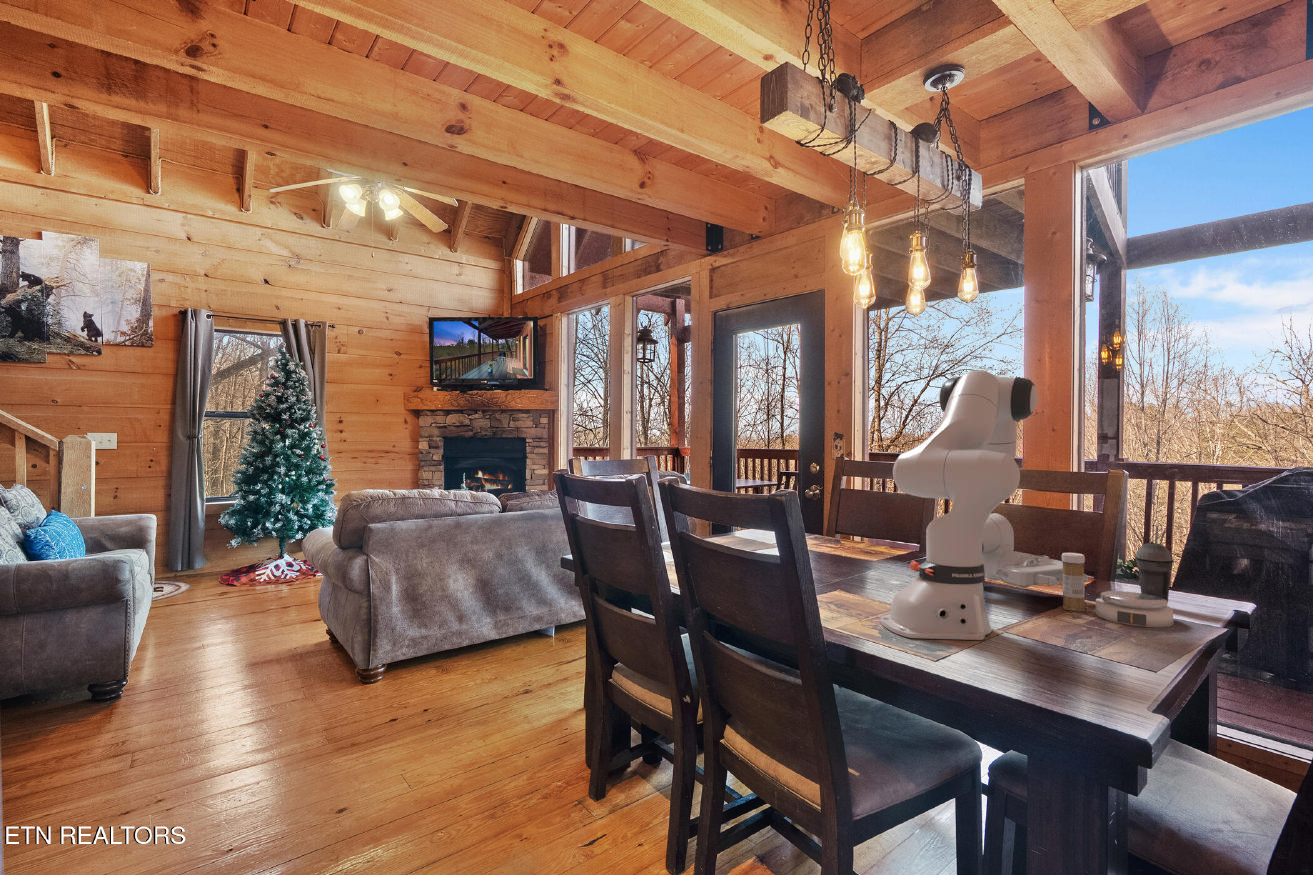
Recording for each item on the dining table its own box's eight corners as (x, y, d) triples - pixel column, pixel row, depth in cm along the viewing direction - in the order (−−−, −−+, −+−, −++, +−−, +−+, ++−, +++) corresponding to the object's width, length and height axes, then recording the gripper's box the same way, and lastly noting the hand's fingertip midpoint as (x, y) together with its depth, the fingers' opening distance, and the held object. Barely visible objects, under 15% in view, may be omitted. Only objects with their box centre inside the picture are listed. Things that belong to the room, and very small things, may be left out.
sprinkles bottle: (1083, 608, 148) (1083, 552, 148) (1086, 613, 144) (1085, 556, 144) (1061, 606, 150) (1060, 551, 150) (1063, 610, 146) (1062, 554, 146)
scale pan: (1131, 609, 133) (1131, 605, 133) (1087, 595, 145) (1087, 591, 145) (1182, 608, 134) (1181, 603, 134) (1134, 594, 146) (1134, 590, 146)
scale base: (1130, 628, 132) (1130, 614, 132) (1080, 610, 146) (1080, 597, 146) (1190, 626, 133) (1190, 612, 133) (1135, 608, 147) (1135, 596, 147)
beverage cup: (1160, 603, 152) (1159, 523, 152) (1182, 611, 145) (1181, 527, 145) (1128, 602, 153) (1127, 522, 153) (1149, 610, 145) (1148, 526, 146)
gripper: (990, 560, 157) (1040, 570, 144) (1047, 554, 164) (1100, 564, 151) (990, 584, 157) (1040, 597, 144) (1048, 578, 164) (1100, 589, 151)
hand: (1071, 580), depth 147 cm, fingers open, 8 cm apart
